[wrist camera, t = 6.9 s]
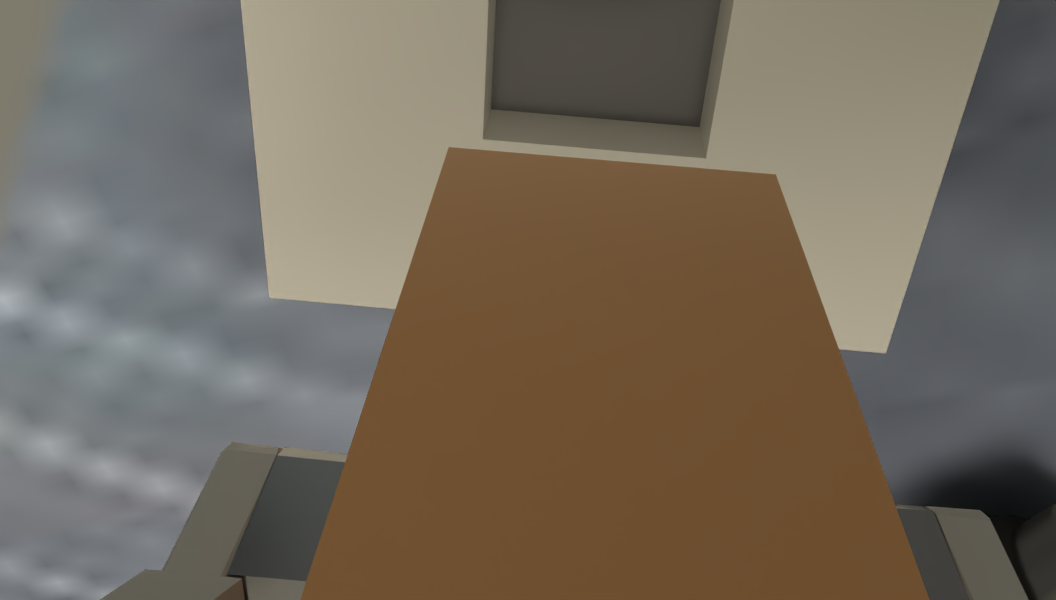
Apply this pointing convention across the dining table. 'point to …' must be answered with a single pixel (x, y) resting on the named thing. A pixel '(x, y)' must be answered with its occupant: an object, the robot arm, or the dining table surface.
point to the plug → (610, 403)
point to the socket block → (608, 121)
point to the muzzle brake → (1031, 550)
